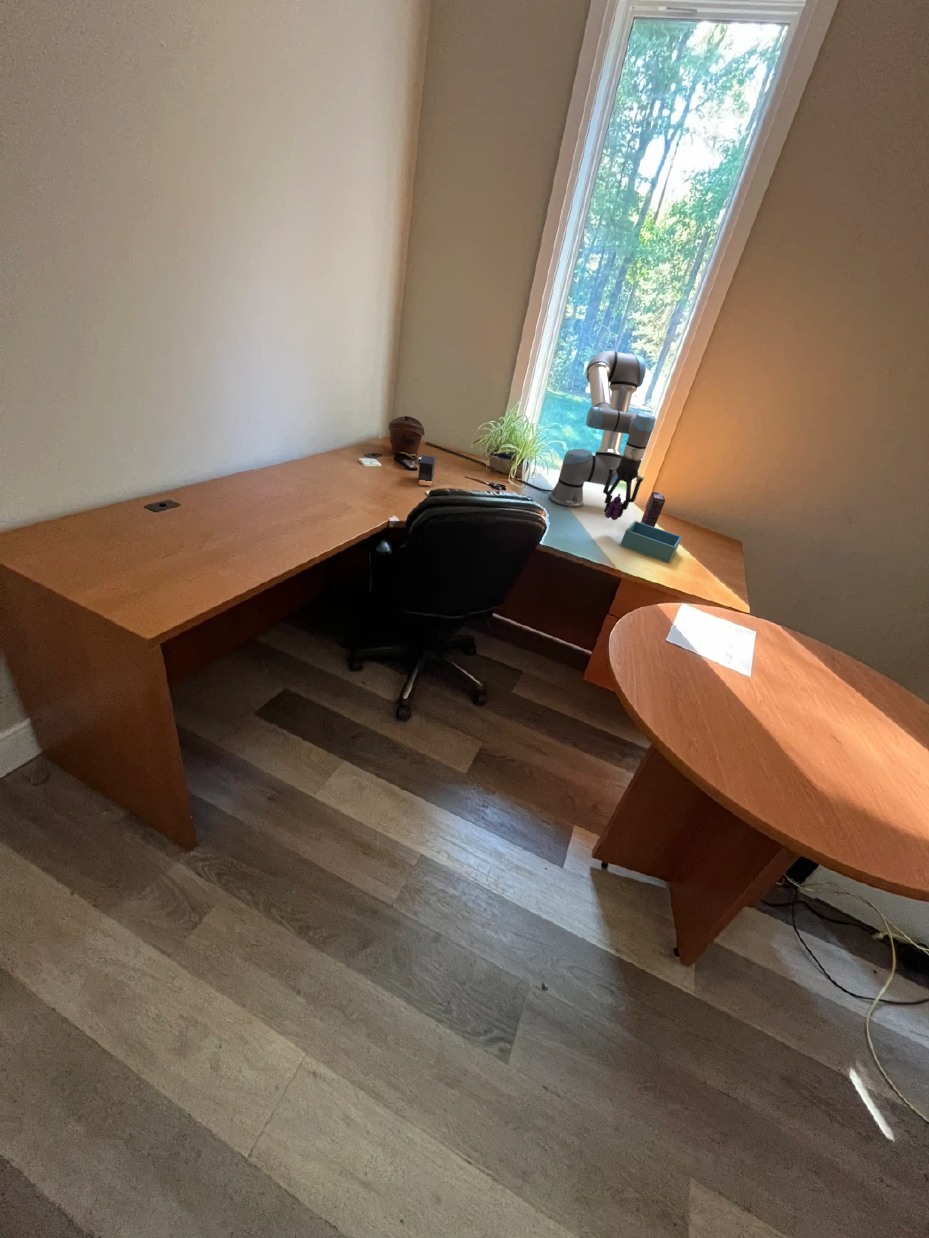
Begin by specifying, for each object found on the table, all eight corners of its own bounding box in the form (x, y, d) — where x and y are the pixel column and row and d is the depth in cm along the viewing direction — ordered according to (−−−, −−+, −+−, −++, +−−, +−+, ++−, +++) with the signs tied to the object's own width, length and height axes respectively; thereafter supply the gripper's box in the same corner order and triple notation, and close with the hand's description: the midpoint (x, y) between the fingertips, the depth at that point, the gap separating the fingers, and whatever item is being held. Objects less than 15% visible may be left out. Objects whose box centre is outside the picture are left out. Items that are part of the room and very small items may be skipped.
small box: (419, 477, 227) (421, 454, 221) (433, 479, 228) (436, 456, 222) (416, 484, 219) (419, 461, 213) (431, 487, 219) (433, 464, 213)
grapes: (603, 517, 200) (611, 493, 194) (607, 514, 204) (615, 489, 198) (615, 522, 198) (624, 497, 192) (619, 518, 202) (628, 494, 196)
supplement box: (651, 535, 211) (665, 500, 202) (640, 532, 211) (654, 497, 202) (649, 527, 218) (663, 493, 209) (639, 525, 218) (651, 491, 209)
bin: (620, 545, 197) (625, 530, 193) (629, 535, 207) (634, 520, 203) (668, 563, 190) (675, 547, 186) (675, 551, 200) (682, 536, 196)
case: (407, 446, 263) (410, 411, 253) (429, 458, 252) (433, 422, 241) (379, 449, 253) (380, 412, 242) (400, 461, 241) (403, 424, 231)
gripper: (606, 452, 187) (588, 508, 200) (653, 466, 180) (631, 524, 194) (612, 448, 192) (594, 504, 206) (658, 462, 186) (636, 518, 199)
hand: (612, 513), depth 200 cm, fingers closed on grapes, 5 cm apart
